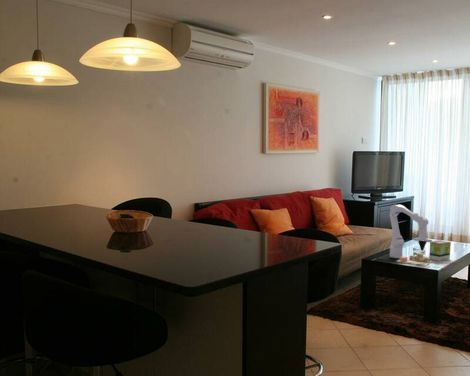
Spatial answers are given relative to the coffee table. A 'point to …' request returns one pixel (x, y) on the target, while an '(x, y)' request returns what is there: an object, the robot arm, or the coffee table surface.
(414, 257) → the short block left
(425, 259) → the short block right
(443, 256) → the tea box
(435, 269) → the coffee table surface
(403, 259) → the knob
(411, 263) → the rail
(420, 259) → the tall block middle
